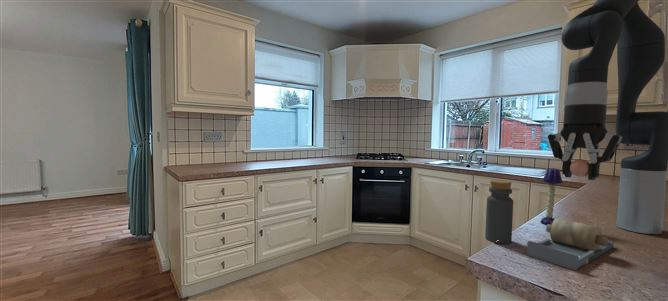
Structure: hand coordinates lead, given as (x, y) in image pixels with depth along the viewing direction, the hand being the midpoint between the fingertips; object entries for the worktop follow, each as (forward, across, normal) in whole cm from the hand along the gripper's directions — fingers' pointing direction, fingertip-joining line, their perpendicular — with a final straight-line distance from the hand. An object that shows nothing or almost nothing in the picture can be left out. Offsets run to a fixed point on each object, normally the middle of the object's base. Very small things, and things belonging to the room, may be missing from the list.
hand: (579, 178), depth 71 cm
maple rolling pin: (+17, 0, +1) cm, 17 cm away
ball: (0, 0, 0) cm, 0 cm away
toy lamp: (+16, +12, -17) cm, 27 cm away
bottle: (+17, +13, +10) cm, 23 cm away
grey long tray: (+17, 0, +2) cm, 17 cm away
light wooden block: (+17, 0, -7) cm, 18 cm away
